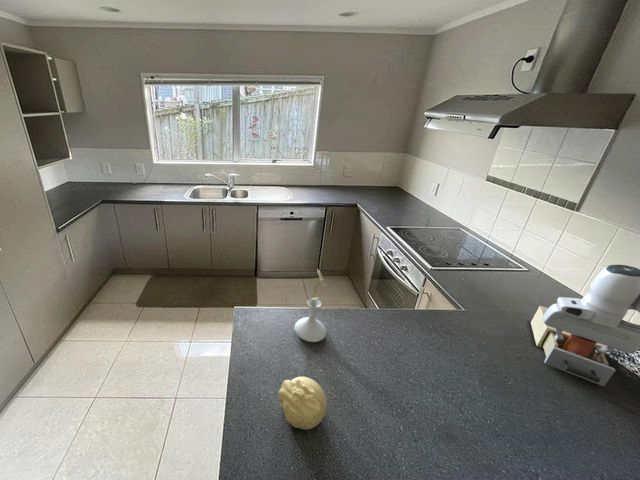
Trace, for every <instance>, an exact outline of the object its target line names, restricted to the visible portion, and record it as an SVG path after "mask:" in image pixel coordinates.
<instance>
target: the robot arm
mask: <svg viewBox="0 0 640 480" xmlns="http://www.w3.org/2000/svg"><path fill="white" fill-rule="evenodd" d="M588 290H589V291H588V292H587V293H586V294H585V295H583V296H582V298H580V297H579V298H577V297H565V296H559V297H558V298H557V299H556V303H557V304H556V303H553V304H551V305H550V306H549V307H547V308H548V309H547V311H546V312H545V313H544V315H543V322H544V323H545V325H547V326H550V327H553V328H555V331H556V335H555V340H557V341H560V342H562V340H563V339H564V338H563V335H560V334H559V332H560V333H562V331H565V332H568V333H571V334H574V335H576V336H579V337H582V338H585V339H588V340H591V341H594V342H597V343H600V344H603V345H605V347H602V348H598V347H596V349H595V350H594V353H595V354H597V355H600V356H603V355H604V354H605V355H606V354H607V353H612V352H614V351H615V350H618V351H620V352H624V353H626V354H627V353H628V354H634V353H637V351H638V349H639V347H640V324H637V323H636V324H635V323H632V322H630V321H627V320H623V319H624V318H625V317H626V315H627V313H628V311H629V310H632V311H637V312H638V313H639V314H640V268H638V267H635V266H631V265H627V264H609V265H607V266H605V267H604V268H603V269H601V270H600V271H599V272H598V273H597V274H596V275H595V278H594V279H593V280H592V282H591V284H590V285H589V288H588ZM605 355H604V356H605Z"/></svg>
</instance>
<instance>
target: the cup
mask: <svg viewBox="0 0 640 480" xmlns="http://www.w3.org/2000/svg"><path fill="white" fill-rule="evenodd" d="M596 344H597V342H594V341H591V340H588V339H585V338H582V337H579V336H576V335H574V334H570V336H569V337H568V339H567V341H566V342H565V344H564V345H563V347H562V349H563V350H565V351H568V352H571V353H574V354H577V355H579V356H582V357H585V358H587V357H588V356H589V354H590V353H591V351H592V350H593V348H594V347H595V345H596Z"/></svg>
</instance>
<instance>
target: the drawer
mask: <svg viewBox="0 0 640 480" xmlns="http://www.w3.org/2000/svg"><path fill="white" fill-rule="evenodd" d="M555 335H556V333H555V332H552V331H548V333H547V335H546V337H545V338H544V340H543V342H542V344H543V348H544V349H543V348H542V349H543V350H544V354H545V355H544V356H545V359H544V364H545V365H548V366H549V367H553V368H555V369H558V370H560V371H563V372H565V373H568V374H570V375H573V376H576V377H579V378H581V379H583V380H586V381H588V382H591V383H594V384H596V385H598V386H601V387H605V386H606V385H607V383H608V382H609V380H610V379H611V378H612V377H613V375H614V374H615V372H616V369H615V367H613V366H609V365H610V363H609V362H608V360H607V358H606V356H605V355H603V356H600V355H597V354H595V353H594V350H595V349H596V346H595V347H594V348H593V350H592V351H591V353H590V354H589V356H588V357H587V358H585V357H582V356H579V355H577V354H574V353H571V352H568V351H565V350H563V349H562V347H563V345H564V344H565V342H566V341H567V339H568V337H566V336H564V335H563V338H564V339H563V340H562V342H560V341H557V340H555ZM560 335H561V334H560ZM598 348H599V347H598Z"/></svg>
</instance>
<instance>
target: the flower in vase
mask: <svg viewBox="0 0 640 480" xmlns="http://www.w3.org/2000/svg"><path fill="white" fill-rule="evenodd" d="M316 272H317V275H318V277H319V280H318V281H317V283H316V284H315V286H312V291H313V293H312V295H313V296H312V298H308V299H307V300H306V304H307V305H308V308H309V312H308V313H309V314H308V317H307V316H306V317H302V318H300V319H298V320H297V321H296V322H295V324H294V332H295V334H296V335H297V336H298V337H299V338H300V339H301V340H303V341H306V342H308V343H318V342H321V341H322V340H324V339H325V337H326V336H327V329H326V327H325V325H324V324H323V323H322V322H321V321H320V320H318V319H317V318H316V315H317V312H318V309H320V308H321V306H322V302H321V301H320V300H319V299H320V297H319V296H316V297H315V294H317V293H316V292H317V291H316V288H317V286H318V285H319V283H322V285H323V287H324V289H325V290H326V292H329V286H328V285H327V282H326V280H325V278H324V277H323V274H322V273H321V270H320V269H316Z"/></svg>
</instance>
